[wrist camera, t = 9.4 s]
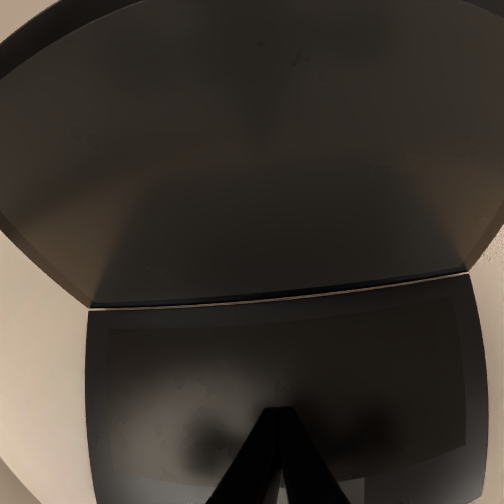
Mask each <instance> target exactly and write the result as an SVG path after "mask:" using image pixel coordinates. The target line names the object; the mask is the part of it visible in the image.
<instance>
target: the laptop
mask: <svg viewBox="0 0 504 504" xmlns="http://www.w3.org/2000/svg"><path fill="white" fill-rule="evenodd" d="M282 406H292V407H293V408H294V409H295V411H296V413H297V415H298V416H299V418H300V420H301V422H302V423H303V425H304V427H305V429H306V430H307V432H308V434H309V435H310V437H311V439H312V441H313V442H314V444H315V446H316V447H317V449H318V451H319V453H320V454H321V456H322V458H323V459H324V461H325V463H326V464H327V466H328V468H329V469H330V471H331V473H332V474H333V476H334V477H335V479H336V481H337V482H338V484H339V486H340V487H341V489H342V490H341V491H343V492H344V493H345V495H346V497H347V498H348V500H349V501H350V503H351V504H467V503H469V502H471V501H473V500H475V499H477V498H478V497H480V496H481V495H482V490H483V483H484V476H485V468H486V459H487V446H488V417H489V414H488V384H487V371H486V361H485V352H484V344H483V338H482V331H481V325H480V320H479V314H478V309H477V305H476V300H475V296H474V291H473V287H472V283H471V279H470V275H469V274H464V275H459V276H453V277H448V278H442V279H437V280H431V281H425V282H419V283H413V284H407V285H400V286H394V287H387V288H380V289H373V290H366V291H358V292H351V293H343V294H335V295H327V296H318V297H309V298H300V299H290V300H280V301H269V302H258V303H246V304H234V305H220V306H205V307H188V308H168V309H143V310H101V311H89V312H88V322H87V335H86V354H85V409H86V427H87V440H88V450H89V459H90V466H91V473H92V480H93V486H94V491H95V497H96V502H97V504H205V503H206V501H207V500H208V498H209V497H210V496H212V495H211V494H212V493H213V491H214V490H215V488H216V487H217V485H218V484H219V482H220V480H221V479H222V477H223V476H224V474H225V473H226V471H227V470H228V468H229V466H230V465H231V463H232V462H233V460H234V458H235V457H236V455H237V454H238V452H239V450H240V449H241V447H242V445H243V444H244V442H245V440H246V439H247V437H248V435H249V433H250V432H251V430H252V428H253V427H254V425H255V423H256V421H257V420H258V418H259V416H260V414H261V412H262V411H263V409H264V408H266V407H277V408H278V409H279V407H282ZM277 504H288V503H287V497H286V491H285V485H284V480H283V473H282V466H281V478H280V485H279V492H278V499H277Z"/></svg>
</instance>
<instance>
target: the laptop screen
mask: <svg viewBox="0 0 504 504" xmlns="http://www.w3.org/2000/svg"><path fill="white" fill-rule="evenodd" d="M503 224H504V0H59V1H57V2H56V3H54V4H52V5H51V6H49V7H48V8H46V9H45V10H43V11H42V12H40V13H39V14H37V15H36V16H35V17H33V18H32V19H31V20H29V21H28V22H27V23H25V24H24V25H22V26H21V27H20V28H19V29H17V30H16V31H15V32H14V33H12V34H11V35H10V36H9V37H7V38H6V39H5V40H4V41H3V42H1V43H0V230H1V231H2V232H3V233H4V234H5V235H6V236H7V237H8V238H9V239H10V240H11V241H12V242H13V243H14V244H15V245H16V246H17V247H18V248H19V249H20V250H21V251H22V252H23V253H24V254H25V255H26V256H27V257H28V258H29V259H30V260H31V261H32V262H33V263H35V264H36V265H37V266H38V267H39V268H40V269H41V270H42V271H43V272H45V273H46V274H47V275H48V276H49V277H50V278H51V279H53V280H54V281H55V282H56V283H57V284H58V285H60V286H61V287H62V288H63V289H64V290H66V291H67V292H68V293H69V294H71V295H72V296H73V297H74V298H76V299H77V300H78V301H79V302H81V303H82V304H83V305H84V306H86V307H87V308H89V309H91V308H134V307H160V306H180V305H197V304H212V303H226V302H239V301H252V300H263V299H274V298H284V297H294V296H304V295H313V294H322V293H330V292H338V291H346V290H354V289H362V288H369V287H376V286H383V285H390V284H397V283H404V282H410V281H416V280H422V279H429V278H434V277H440V276H446V275H452V274H457V273H462V272H468V271H469V270H470V269H471V268H472V267H473V265H474V264H475V263H476V262H477V260H478V259H479V258H480V256H481V255H482V254H483V252H484V251H485V250H486V248H487V247H488V246H489V244H490V243H491V241H492V240H493V239H494V237H495V236H496V234H497V233H498V231H499V230H500V229H501V227H502V226H503Z"/></svg>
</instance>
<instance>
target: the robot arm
mask: <svg viewBox="0 0 504 504" xmlns="http://www.w3.org/2000/svg"><path fill="white" fill-rule="evenodd" d="M281 466H282V473H283V480H284V485H285V491H286V497H287V503H288V504H351V503H350V501H349V500H348V498H347V497H346V495H345V493H344V492H343V491H341V490H342V489H341V487H340V486H339V484H338V482H337V481H336V479H335V477H334V476H333V474H332V473H331V471H330V469H329V468H328V466H327V464H326V463H325V461H324V459H323V458H322V456H321V454H320V453H319V451H318V449H317V447H316V446H315V444H314V442H313V441H312V439H311V437H310V435H309V434H308V432H307V430H306V429H305V427H304V425H303V423H302V422H301V420H300V418H299V416H298V415H297V413H296V411H295V409H294V408H293V407H292V406H282V407H279V409H278V408H277V407H266V408H264V409H263V411H262V412H261V414H260V416H259V418H258V420H257V421H256V423H255V425H254V427H253V428H252V430H251V432H250V433H249V435H248V437H247V439H246V440H245V442H244V444H243V445H242V447H241V449H240V450H239V452H238V454H237V455H236V457H235V458H234V460H233V462H232V463H231V465H230V466H229V468H228V470H227V471H226V473H225V474H224V476H223V477H222V479H221V480H220V482H219V484H218V485H217V487H216V488H215V490H214V491H213V493H212V494H211V495H212V496H210V497H209V498H208V500H207V501H206V503H205V504H277V499H278V492H279V485H280V478H281Z"/></svg>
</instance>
